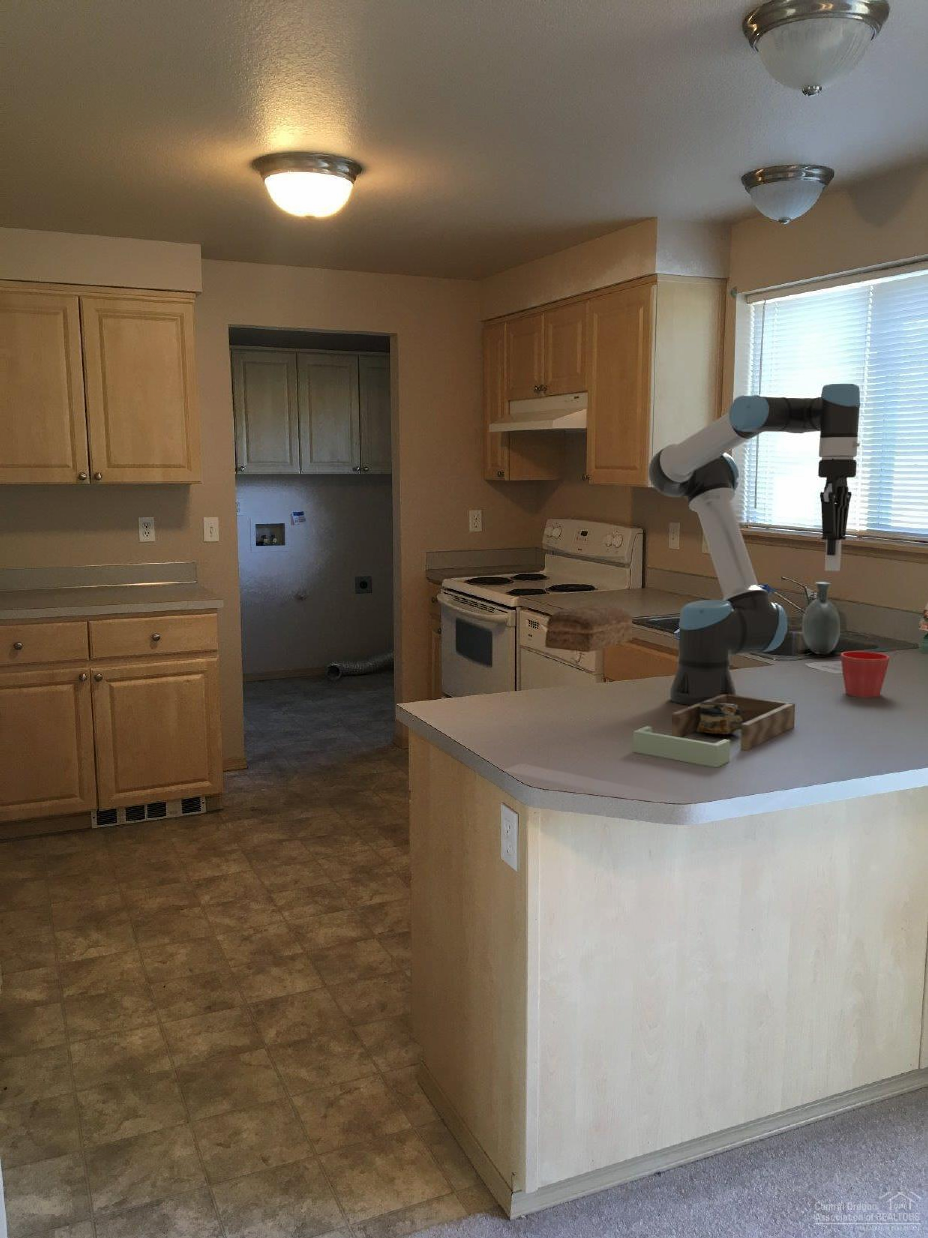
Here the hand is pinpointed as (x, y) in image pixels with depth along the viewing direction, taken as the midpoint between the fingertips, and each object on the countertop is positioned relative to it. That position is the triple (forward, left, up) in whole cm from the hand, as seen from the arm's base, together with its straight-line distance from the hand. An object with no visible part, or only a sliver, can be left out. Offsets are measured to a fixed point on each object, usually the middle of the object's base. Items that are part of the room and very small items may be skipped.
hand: (832, 570), depth 215 cm
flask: (+14, +84, -33) cm, 92 cm away
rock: (-24, -21, -33) cm, 46 cm away
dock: (-34, -38, -32) cm, 60 cm away
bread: (-54, +90, -33) cm, 110 cm away
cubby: (-21, -15, -32) cm, 41 cm away
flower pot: (+14, +28, -33) cm, 45 cm away
